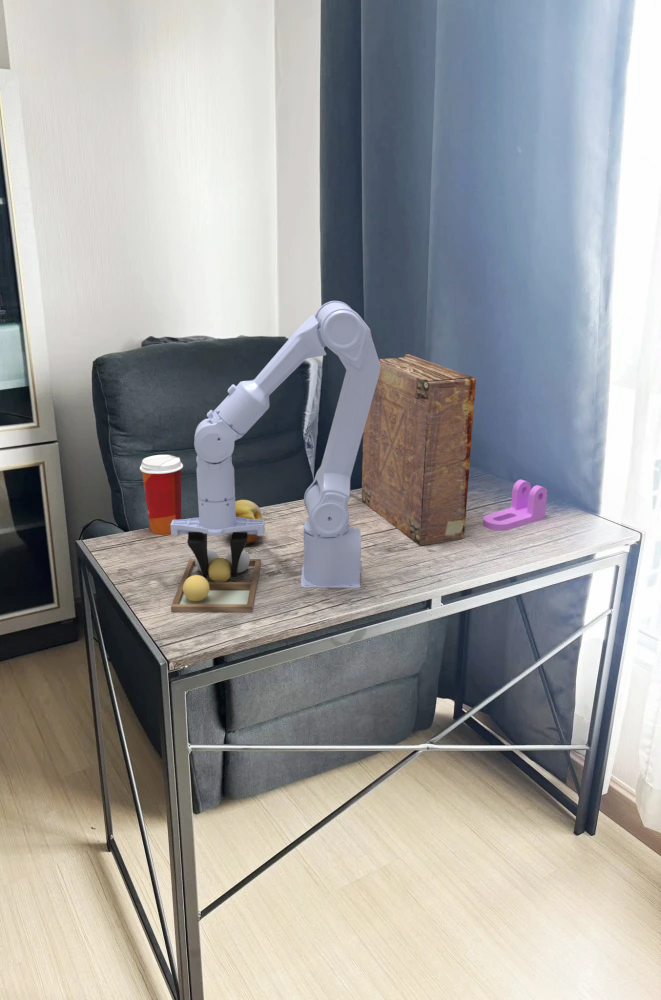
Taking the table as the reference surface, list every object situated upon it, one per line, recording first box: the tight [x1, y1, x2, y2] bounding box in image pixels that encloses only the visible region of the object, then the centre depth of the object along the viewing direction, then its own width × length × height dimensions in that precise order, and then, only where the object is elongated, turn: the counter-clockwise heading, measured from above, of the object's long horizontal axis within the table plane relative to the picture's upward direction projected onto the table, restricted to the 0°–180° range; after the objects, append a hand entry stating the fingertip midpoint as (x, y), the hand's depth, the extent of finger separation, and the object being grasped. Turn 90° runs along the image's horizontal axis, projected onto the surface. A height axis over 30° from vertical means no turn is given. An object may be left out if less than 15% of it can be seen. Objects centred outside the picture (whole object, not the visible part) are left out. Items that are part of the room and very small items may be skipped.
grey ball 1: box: [194, 548, 220, 573], centre depth 132 cm, size 4×4×4 cm
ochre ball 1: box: [183, 574, 209, 601], centre depth 123 cm, size 4×4×4 cm
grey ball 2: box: [225, 549, 251, 574], centre depth 132 cm, size 4×4×4 cm
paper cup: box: [139, 454, 184, 536], centre depth 148 cm, size 8×8×14 cm
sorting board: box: [170, 558, 262, 614], centre depth 127 cm, size 12×17×2 cm
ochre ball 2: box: [207, 557, 232, 582], centre depth 129 cm, size 4×4×4 cm
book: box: [361, 353, 477, 547], centre depth 152 cm, size 25×9×30 cm, turn 23°
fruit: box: [235, 499, 263, 545], centre depth 144 cm, size 8×8×8 cm
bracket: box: [482, 479, 548, 532], centre depth 155 cm, size 13×6×7 cm, turn 125°
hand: (220, 575), depth 129 cm, fingers closed on ochre ball 2, 4 cm apart
